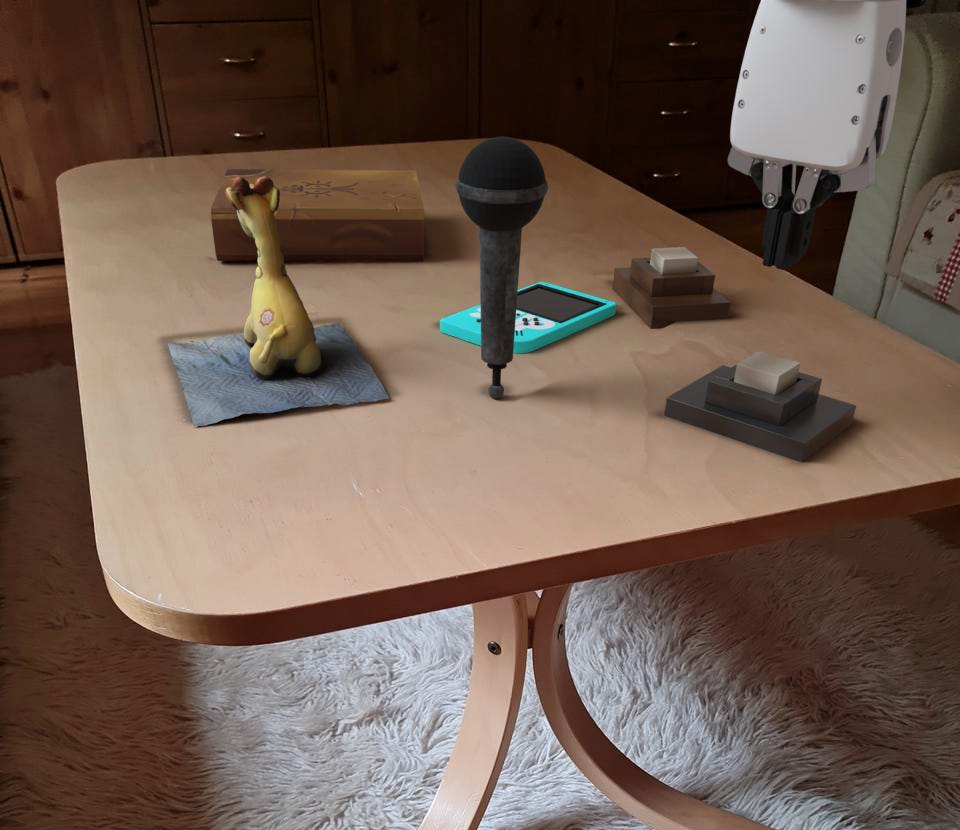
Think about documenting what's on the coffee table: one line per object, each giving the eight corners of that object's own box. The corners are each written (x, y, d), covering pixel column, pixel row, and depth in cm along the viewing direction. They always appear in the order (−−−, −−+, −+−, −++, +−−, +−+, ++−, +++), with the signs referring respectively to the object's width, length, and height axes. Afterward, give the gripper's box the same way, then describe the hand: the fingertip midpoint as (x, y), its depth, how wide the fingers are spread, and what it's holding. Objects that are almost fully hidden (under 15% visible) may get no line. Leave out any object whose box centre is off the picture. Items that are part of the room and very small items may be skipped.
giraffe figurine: (338, 324, 97) (320, 145, 87) (390, 405, 84) (376, 206, 74) (168, 349, 93) (129, 165, 83) (196, 438, 80) (153, 232, 70)
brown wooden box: (217, 265, 112) (209, 210, 108) (233, 218, 126) (227, 169, 123) (424, 262, 114) (423, 208, 110) (416, 217, 128) (415, 168, 125)
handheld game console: (436, 330, 97) (436, 316, 96) (539, 291, 107) (540, 278, 106) (517, 358, 92) (517, 344, 91) (617, 314, 101) (619, 300, 101)
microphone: (483, 422, 81) (488, 151, 69) (440, 392, 86) (437, 133, 73) (552, 404, 84) (569, 142, 72) (507, 375, 89) (516, 124, 76)
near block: (850, 430, 81) (862, 383, 79) (799, 469, 76) (811, 420, 73) (718, 389, 87) (726, 344, 85) (662, 422, 82) (669, 375, 79)
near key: (796, 384, 79) (800, 362, 78) (774, 398, 77) (779, 376, 76) (754, 371, 81) (758, 350, 80) (732, 385, 79) (736, 363, 78)
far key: (695, 275, 100) (698, 257, 99) (661, 277, 100) (663, 259, 99) (682, 264, 103) (685, 246, 102) (649, 266, 103) (651, 248, 101)
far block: (727, 324, 100) (734, 283, 97) (650, 329, 98) (655, 287, 96) (683, 285, 109) (688, 247, 107) (612, 289, 108) (616, 250, 105)
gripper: (976, -27, 63) (898, 273, 74) (757, -41, 70) (717, 233, 81) (932, -20, 58) (856, 299, 69) (703, -35, 66) (668, 255, 77)
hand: (781, 263), depth 75 cm, fingers closed
